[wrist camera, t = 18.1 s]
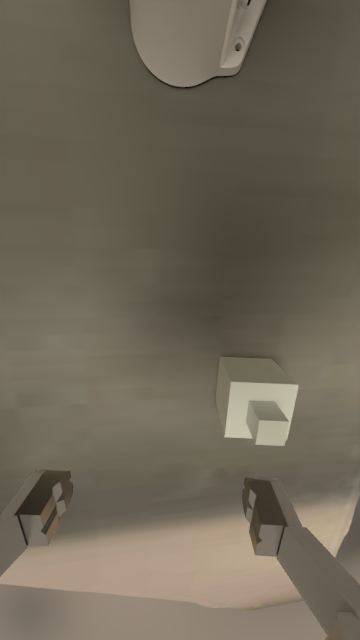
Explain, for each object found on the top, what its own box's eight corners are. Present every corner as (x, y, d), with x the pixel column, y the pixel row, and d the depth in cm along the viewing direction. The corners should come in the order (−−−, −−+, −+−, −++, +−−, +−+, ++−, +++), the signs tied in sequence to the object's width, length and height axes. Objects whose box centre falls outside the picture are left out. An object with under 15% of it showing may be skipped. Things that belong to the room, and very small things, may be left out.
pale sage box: (219, 356, 36) (238, 399, 24) (271, 358, 36) (317, 402, 24) (215, 401, 39) (230, 461, 26) (263, 403, 39) (302, 464, 26)
